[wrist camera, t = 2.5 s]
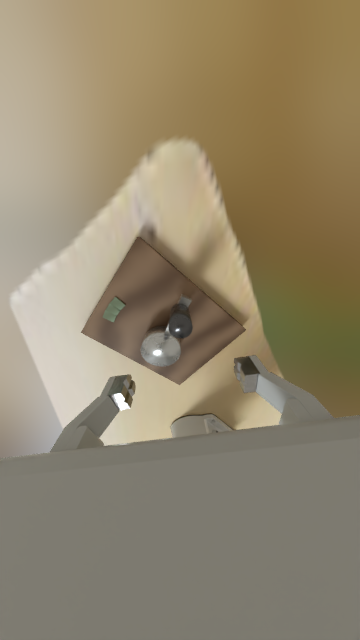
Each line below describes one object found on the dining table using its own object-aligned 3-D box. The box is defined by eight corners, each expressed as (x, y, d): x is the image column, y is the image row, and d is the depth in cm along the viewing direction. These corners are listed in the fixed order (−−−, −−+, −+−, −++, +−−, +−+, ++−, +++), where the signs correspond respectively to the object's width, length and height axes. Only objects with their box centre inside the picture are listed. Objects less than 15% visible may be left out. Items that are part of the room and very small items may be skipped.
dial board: (242, 326, 28) (246, 330, 26) (179, 379, 34) (179, 385, 33) (140, 237, 20) (137, 236, 19) (85, 328, 27) (80, 333, 25)
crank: (171, 359, 29) (170, 390, 22) (139, 348, 27) (128, 379, 21) (204, 302, 23) (215, 322, 17) (165, 284, 22) (161, 300, 15)
